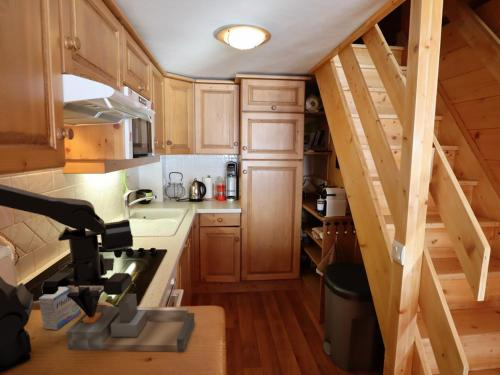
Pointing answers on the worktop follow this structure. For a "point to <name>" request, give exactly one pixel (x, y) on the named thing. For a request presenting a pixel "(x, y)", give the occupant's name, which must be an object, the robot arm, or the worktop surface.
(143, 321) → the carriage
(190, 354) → the worktop surface
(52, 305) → the medicine box
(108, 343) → the rail
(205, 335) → the worktop surface
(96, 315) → the button
